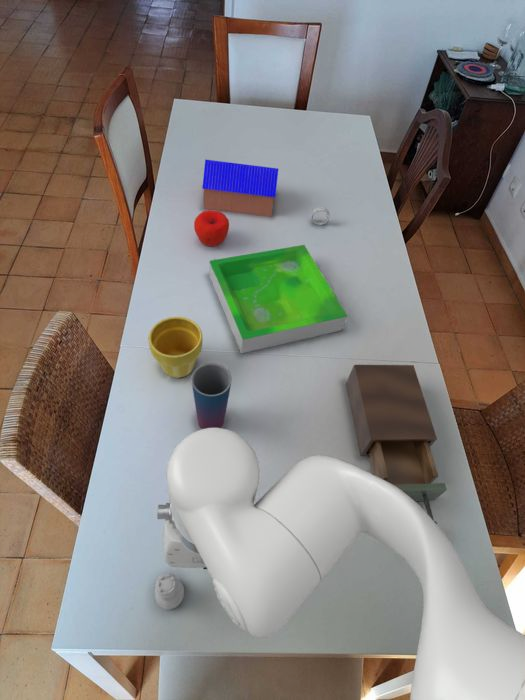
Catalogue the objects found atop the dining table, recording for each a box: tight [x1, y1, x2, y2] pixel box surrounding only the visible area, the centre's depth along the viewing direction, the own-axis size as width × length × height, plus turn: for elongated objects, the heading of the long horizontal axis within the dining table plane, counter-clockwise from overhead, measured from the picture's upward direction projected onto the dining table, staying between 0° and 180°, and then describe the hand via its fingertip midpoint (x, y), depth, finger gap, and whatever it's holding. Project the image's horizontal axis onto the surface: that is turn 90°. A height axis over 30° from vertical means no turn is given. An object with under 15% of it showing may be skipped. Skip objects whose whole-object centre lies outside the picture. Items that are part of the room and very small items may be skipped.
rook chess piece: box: [154, 572, 185, 611], centre depth 67 cm, size 4×4×8 cm
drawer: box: [368, 441, 448, 525], centre depth 83 cm, size 21×11×5 cm, turn 4°
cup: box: [191, 362, 233, 430], centre depth 83 cm, size 7×7×15 cm
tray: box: [209, 244, 348, 354], centre depth 108 cm, size 25×25×5 cm
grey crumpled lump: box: [310, 207, 330, 226], centre depth 128 cm, size 3×5×5 cm, turn 90°
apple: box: [193, 209, 230, 247], centre depth 118 cm, size 9×9×8 cm
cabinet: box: [345, 364, 438, 457], centre depth 91 cm, size 17×13×7 cm
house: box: [201, 158, 279, 218], centre depth 128 cm, size 12×20×12 cm, turn 87°
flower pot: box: [148, 316, 203, 379], centre depth 92 cm, size 10×10×10 cm
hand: (209, 556), depth 60 cm, fingers closed
